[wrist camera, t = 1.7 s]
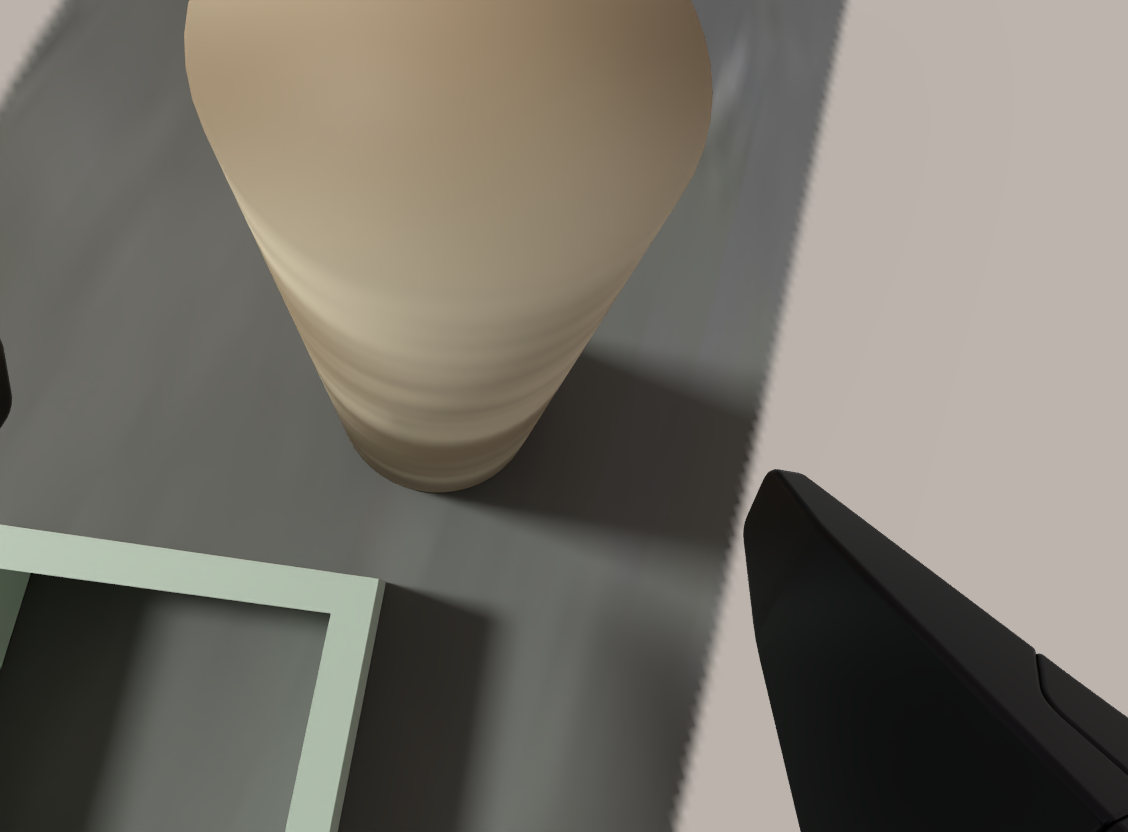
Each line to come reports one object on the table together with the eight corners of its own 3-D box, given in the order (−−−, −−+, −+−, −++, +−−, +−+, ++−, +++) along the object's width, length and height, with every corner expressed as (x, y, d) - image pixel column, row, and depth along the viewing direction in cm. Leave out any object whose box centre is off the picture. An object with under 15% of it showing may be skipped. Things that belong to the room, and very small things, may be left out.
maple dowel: (566, 442, 20) (799, 185, 8) (389, 526, 19) (320, 382, 6) (484, 280, 21) (575, -201, 8) (308, 350, 19) (99, -97, 7)
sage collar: (307, 988, 16) (282, 1072, 13) (-136, 958, 15) (-268, 1044, 12) (386, 582, 18) (378, 579, 15) (5, 527, 17) (-79, 513, 14)
